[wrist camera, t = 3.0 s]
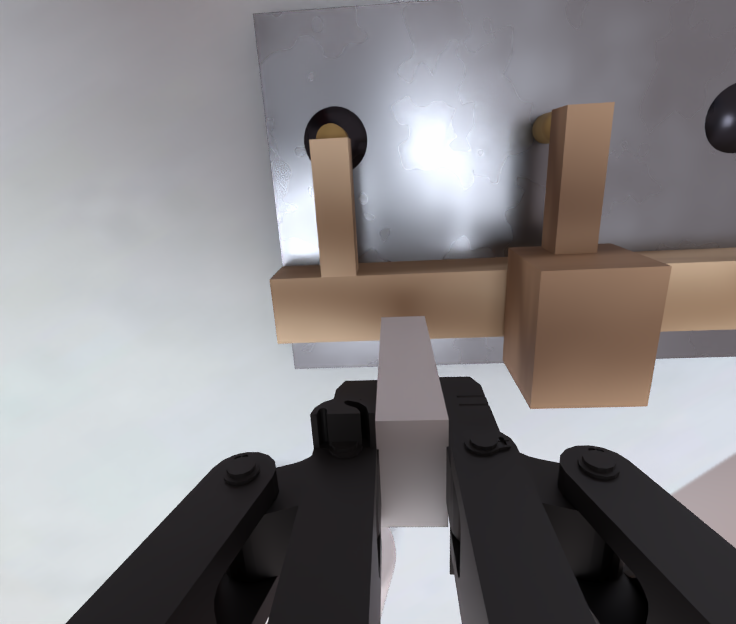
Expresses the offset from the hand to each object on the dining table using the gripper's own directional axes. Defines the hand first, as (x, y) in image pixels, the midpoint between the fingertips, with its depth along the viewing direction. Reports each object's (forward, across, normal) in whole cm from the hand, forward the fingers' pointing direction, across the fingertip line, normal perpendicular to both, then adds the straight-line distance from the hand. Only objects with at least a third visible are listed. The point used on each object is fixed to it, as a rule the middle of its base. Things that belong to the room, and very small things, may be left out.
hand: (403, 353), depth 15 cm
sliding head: (+6, +6, +3) cm, 9 cm away
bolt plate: (+8, +6, +4) cm, 11 cm away
